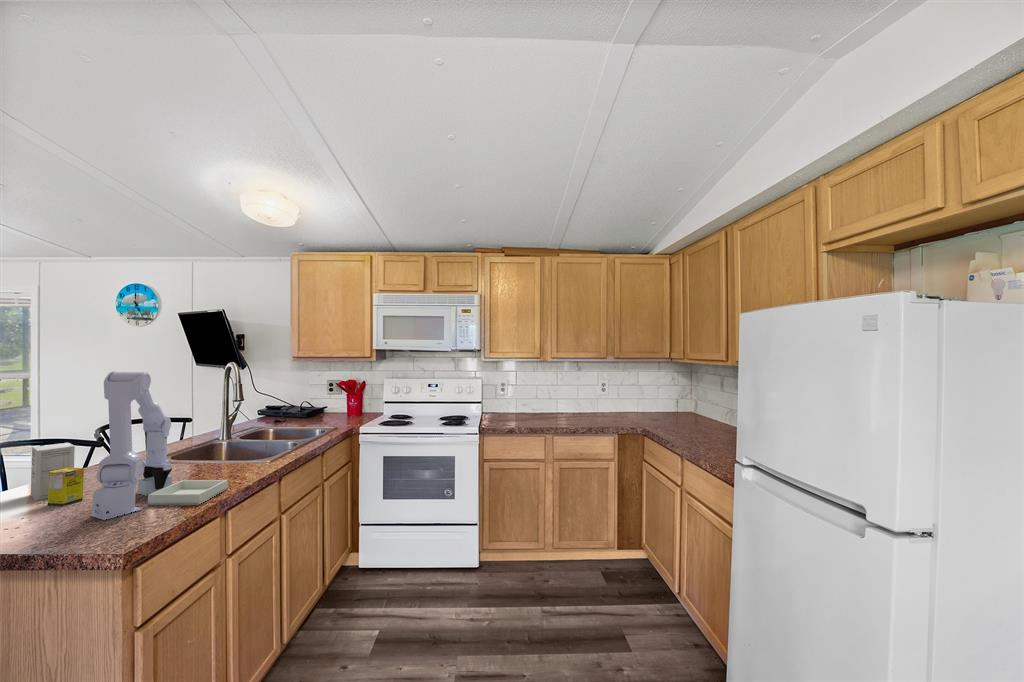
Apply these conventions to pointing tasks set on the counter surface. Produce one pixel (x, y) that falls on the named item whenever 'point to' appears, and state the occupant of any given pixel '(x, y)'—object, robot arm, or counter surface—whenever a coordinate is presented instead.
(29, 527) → the counter surface
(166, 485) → the small crate
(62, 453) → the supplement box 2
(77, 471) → the supplement box
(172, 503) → the pale green tray
